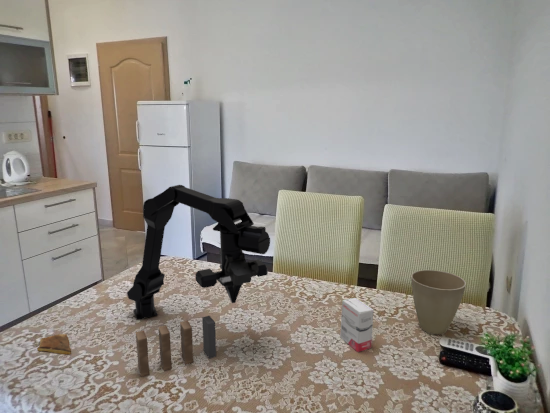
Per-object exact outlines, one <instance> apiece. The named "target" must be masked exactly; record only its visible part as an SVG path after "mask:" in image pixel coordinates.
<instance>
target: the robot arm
mask: <svg viewBox="0 0 550 413" xmlns="http://www.w3.org/2000/svg"><path fill="white" fill-rule="evenodd" d="M179 204H182V205H184V206H187V207H189V208H193V209H195V210H198V211H201V212H203V213H206V214H207V215H209V217H210V219H212V220H213V221H215V222H216V223H217V224H216V225H215V226H214V227H213V228H212V230H213V231H214V232H219V239H220V242H219V244H220V249H219V250H218V251H219V254H220V264H219V269H220V271H215V272H214V271H213V270H212V269H211V268H206V269H205V268H204V269H201V270H197V272H196V273H195V281H196V283H197V284H198V285H199V286H200V287H201V288H203V289H206V288H211V287H215V286H216V284H217V283H219V284H220V285H221V286H222V287H224V288H225V291H226V293H227V295H228V298H229V300H230V303H231V304H235V303H236V302H237V299H238V295H239V293H240V290H241V288H242V286H243V285H244V284H248V283H251V282H252V277H253V278H254V277H263V276H264V277H265V276H267V275H268V274H269V270H268V266H267V265H266V264H265V263H264V262H263V261H261V260H259V259H255V260H250V261H247V260H246V255H245V252H247V253H253V254H259V255H265V254H266V253H267V252H268V251H269V248H270V245H271V237H270V235H269V232H267V231H266V226H255V225H254V221H253V220H252V218H251V216H250V215H249V213H248V212H247V210H246V208H245V206H244V204H243V202H242V201H241V200H239V199H236V198H228V197H227V198H226V197H222V198H219V197H215V196H212V195H208V194H207V193H202V192H200V191H197V190H195V189H191V188H189V187H186V186H185V185H182V184H177V185H172V186H169V187H168V188H166V189H165V190H164V191H163V192H160V193H159V194H157V195H155V196H154V197H152V198H148V199H146V200H145V201H144V202H143V206H142V209H143V210H142V212H143V214H142V217H143V219H144V221H145V223H146V233H145V240H144V248H143V249H144V250H143V256H142V262H141V264H142V265H141V267H140V269H139V271H137V273H136V275H135V277H134V280H133V285H132V287H130V288H129V290H128V291H127V292H126V294H127V297H128V298H127V299H128V300H130V301H134V304H135V307H134V309H133V310H132V312H133V314H134V316H135V319H136V320H142V319H146V318H151V317H156V316H158V312H157V309H156V307H155V294H158V293H160V291H161V288H162V287H163V286H164V285H165V284H164V283H165V282H164V279H165V276H166V275H165V274H164V273H163V272H162V271H161V269H160V261H161V254H162V247H163V240H164V235H165V227H166V225H167V224H168V223H169V221H170V220H171V219H172V216H173V214H174V210H175V207H176V206H178V205H179ZM239 221H240V222H239Z"/></svg>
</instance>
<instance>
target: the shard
mask: <svg viewBox="0 0 550 413" xmlns="http://www.w3.org/2000/svg"><path fill="white" fill-rule="evenodd" d="M39 341H40V343H39V346H38V347H37V351H38V352H49V353H55V354H59V355H72V348H71V346H70V339H69V337H68V334H67V333H59V334H54V335H51V336H46V337H43V338H40V340H39Z"/></svg>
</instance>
